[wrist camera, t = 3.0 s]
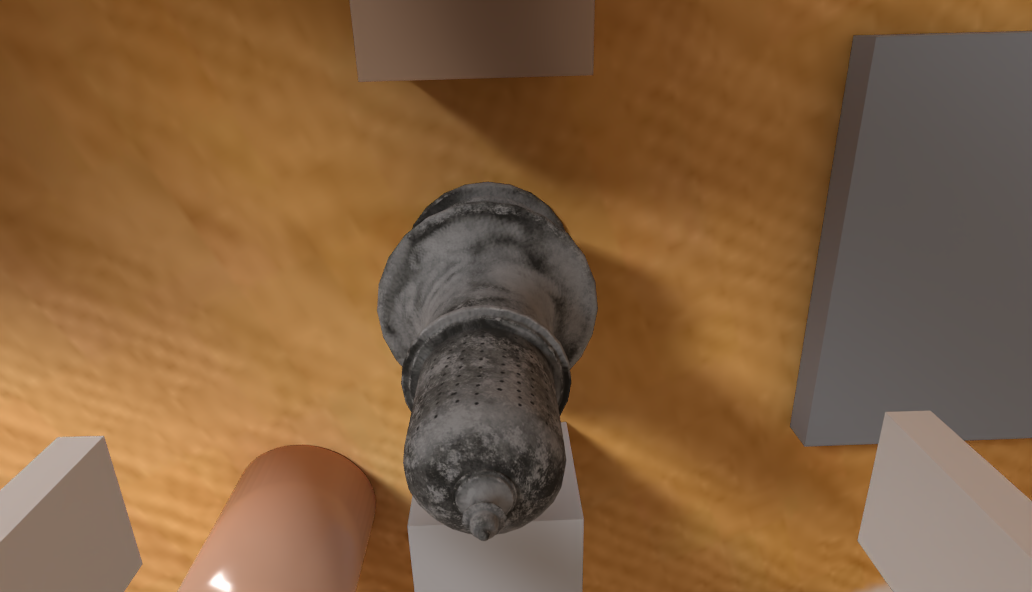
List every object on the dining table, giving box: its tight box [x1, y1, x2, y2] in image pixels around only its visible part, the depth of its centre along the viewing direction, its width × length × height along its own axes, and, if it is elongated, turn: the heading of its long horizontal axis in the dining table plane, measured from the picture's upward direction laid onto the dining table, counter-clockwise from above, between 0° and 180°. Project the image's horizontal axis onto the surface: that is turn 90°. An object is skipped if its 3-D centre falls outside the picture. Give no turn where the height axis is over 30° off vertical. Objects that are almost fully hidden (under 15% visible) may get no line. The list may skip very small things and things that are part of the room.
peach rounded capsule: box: [177, 445, 376, 592], centre depth 22 cm, size 5×5×6 cm
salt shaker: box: [377, 182, 598, 541], centre depth 15 cm, size 6×6×12 cm
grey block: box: [407, 422, 584, 592], centre depth 22 cm, size 5×5×5 cm
